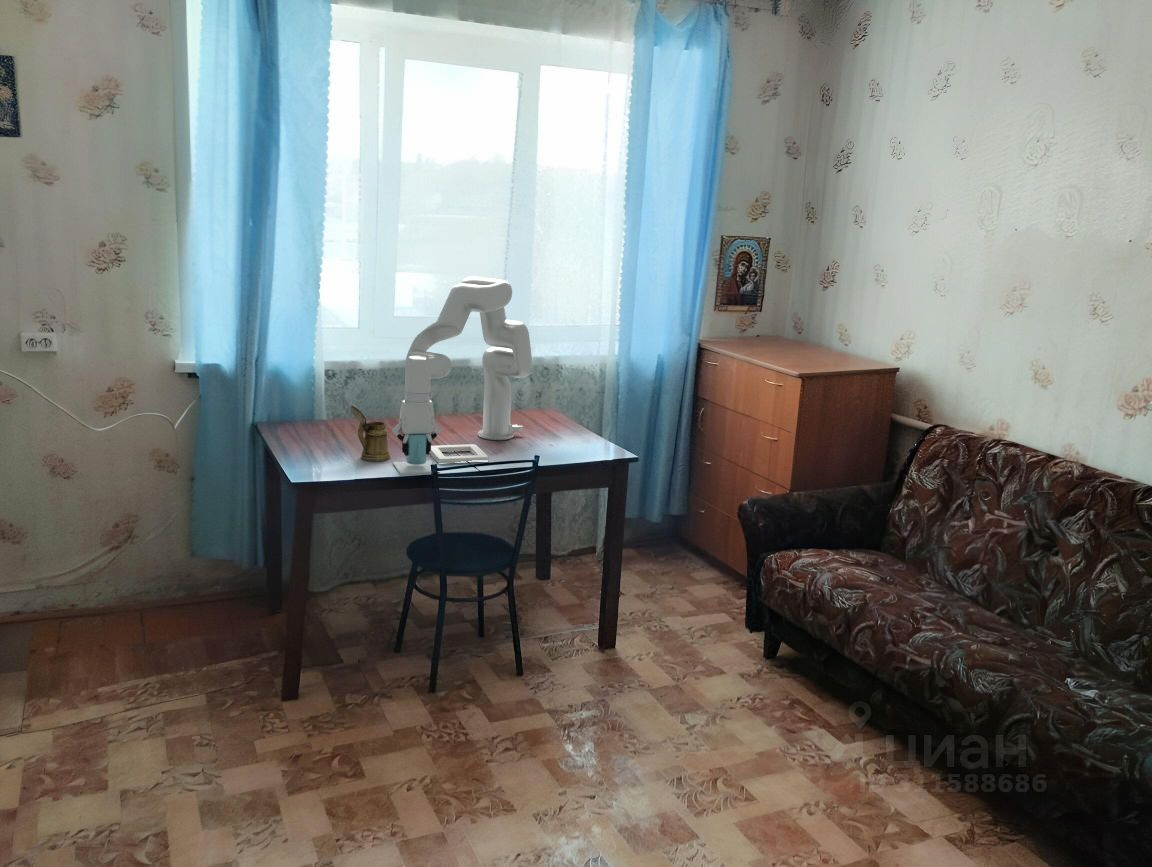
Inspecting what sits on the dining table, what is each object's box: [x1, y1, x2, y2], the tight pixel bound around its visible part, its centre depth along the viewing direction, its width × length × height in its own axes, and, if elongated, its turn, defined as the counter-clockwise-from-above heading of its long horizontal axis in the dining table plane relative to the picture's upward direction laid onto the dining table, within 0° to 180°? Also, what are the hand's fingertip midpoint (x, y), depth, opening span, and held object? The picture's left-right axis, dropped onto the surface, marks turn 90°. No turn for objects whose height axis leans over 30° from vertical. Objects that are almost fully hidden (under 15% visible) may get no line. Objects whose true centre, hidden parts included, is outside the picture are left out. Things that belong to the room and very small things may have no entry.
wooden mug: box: [350, 405, 391, 462], centre depth 309 cm, size 9×14×18 cm, turn 134°
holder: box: [429, 443, 489, 464], centre depth 319 cm, size 16×16×2 cm
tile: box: [392, 459, 434, 476], centre depth 303 cm, size 12×12×1 cm
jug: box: [406, 434, 427, 465], centre depth 301 cm, size 8×6×9 cm
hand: (416, 453), depth 302 cm, fingers closed on jug, 5 cm apart
